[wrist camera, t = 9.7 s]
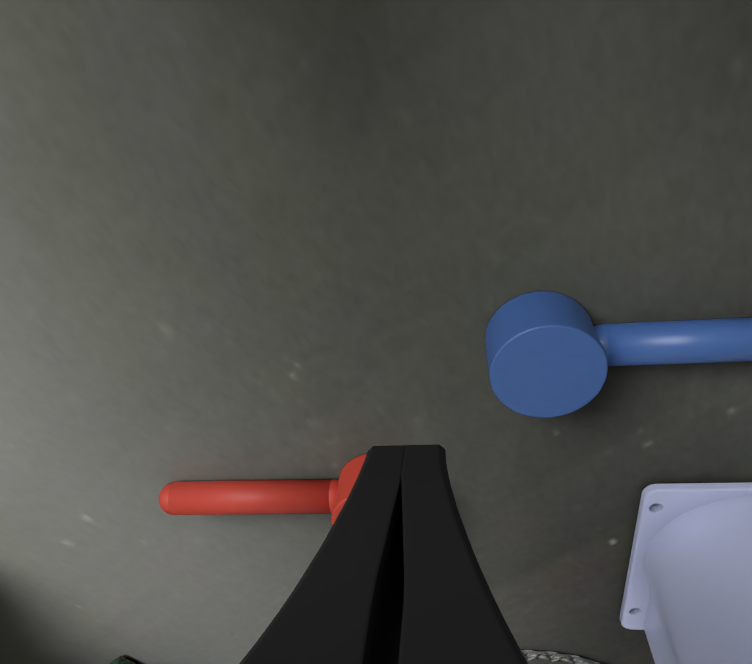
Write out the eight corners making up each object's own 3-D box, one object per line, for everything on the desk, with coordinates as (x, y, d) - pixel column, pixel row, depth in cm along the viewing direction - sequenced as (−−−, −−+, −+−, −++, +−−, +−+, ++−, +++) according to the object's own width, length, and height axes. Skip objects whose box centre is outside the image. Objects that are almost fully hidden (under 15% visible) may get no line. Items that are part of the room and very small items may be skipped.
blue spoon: (866, 272, 18) (916, 308, 16) (830, 368, 19) (871, 410, 18) (484, 293, 19) (489, 328, 17) (485, 379, 21) (489, 419, 19)
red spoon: (179, 513, 27) (160, 553, 25) (154, 456, 25) (131, 496, 23) (426, 511, 25) (425, 554, 23) (420, 450, 23) (418, 492, 21)
